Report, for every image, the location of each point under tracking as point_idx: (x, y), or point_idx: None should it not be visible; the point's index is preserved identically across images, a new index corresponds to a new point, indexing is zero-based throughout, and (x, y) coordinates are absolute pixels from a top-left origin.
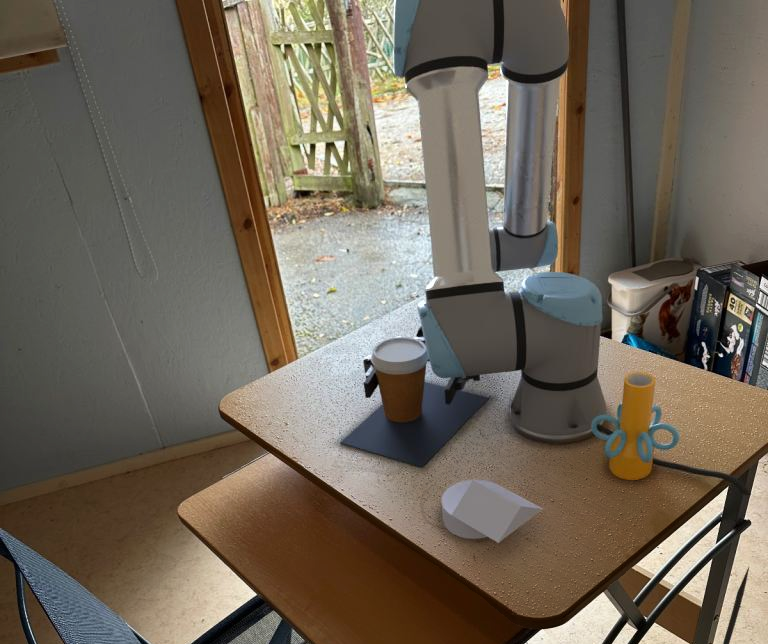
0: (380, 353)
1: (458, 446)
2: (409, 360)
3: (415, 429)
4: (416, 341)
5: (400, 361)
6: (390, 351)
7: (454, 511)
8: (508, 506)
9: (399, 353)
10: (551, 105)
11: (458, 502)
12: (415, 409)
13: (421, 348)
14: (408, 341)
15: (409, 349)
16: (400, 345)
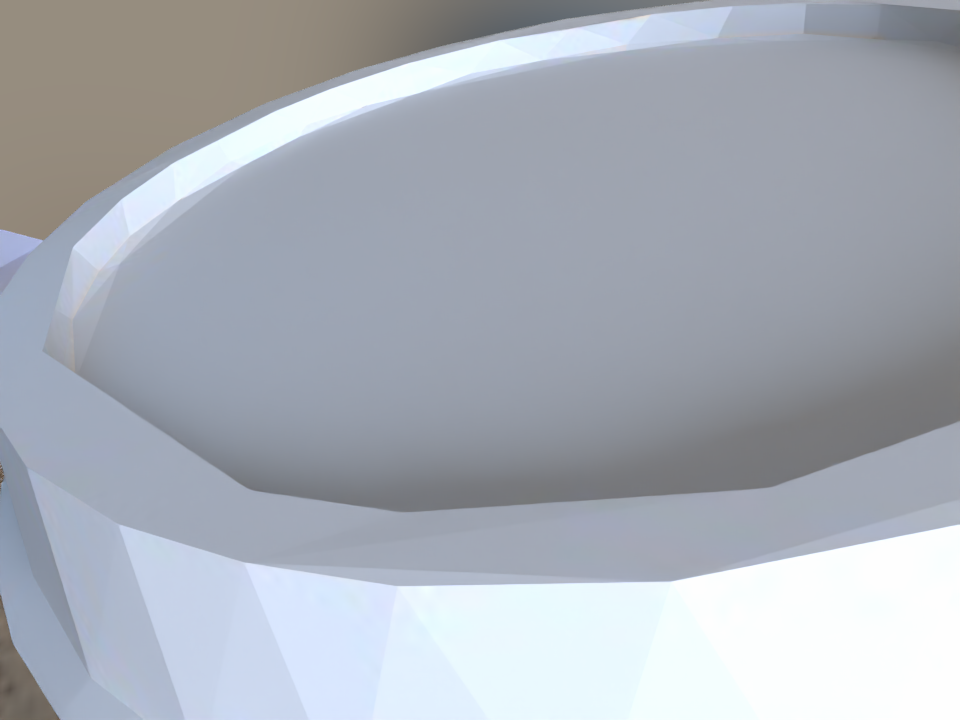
0: (848, 69)
1: (45, 696)
2: (256, 108)
3: None
4: (368, 534)
5: (372, 67)
6: (746, 134)
7: (30, 237)
8: None
9: (535, 160)
10: None
11: (17, 270)
12: None
13: (136, 403)
14: (696, 484)
15: (421, 281)
16: (741, 275)
